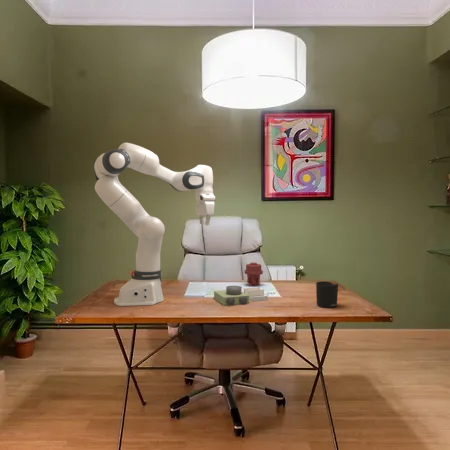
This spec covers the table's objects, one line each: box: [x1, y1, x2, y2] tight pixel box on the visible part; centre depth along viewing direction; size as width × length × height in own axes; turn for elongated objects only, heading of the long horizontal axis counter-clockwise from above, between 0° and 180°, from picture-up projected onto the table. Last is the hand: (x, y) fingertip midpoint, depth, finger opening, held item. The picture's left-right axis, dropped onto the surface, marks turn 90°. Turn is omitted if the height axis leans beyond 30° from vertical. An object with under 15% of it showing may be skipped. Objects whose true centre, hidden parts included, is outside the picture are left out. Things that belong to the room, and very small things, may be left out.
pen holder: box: [315, 281, 339, 309], centre depth 180 cm, size 9×9×10 cm
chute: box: [243, 286, 265, 297], centre depth 193 cm, size 8×6×5 cm
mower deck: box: [213, 285, 269, 306], centre depth 190 cm, size 22×15×6 cm
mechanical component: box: [244, 261, 264, 287], centre depth 224 cm, size 12×10×10 cm
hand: (204, 224), depth 207 cm, fingers open, 8 cm apart
